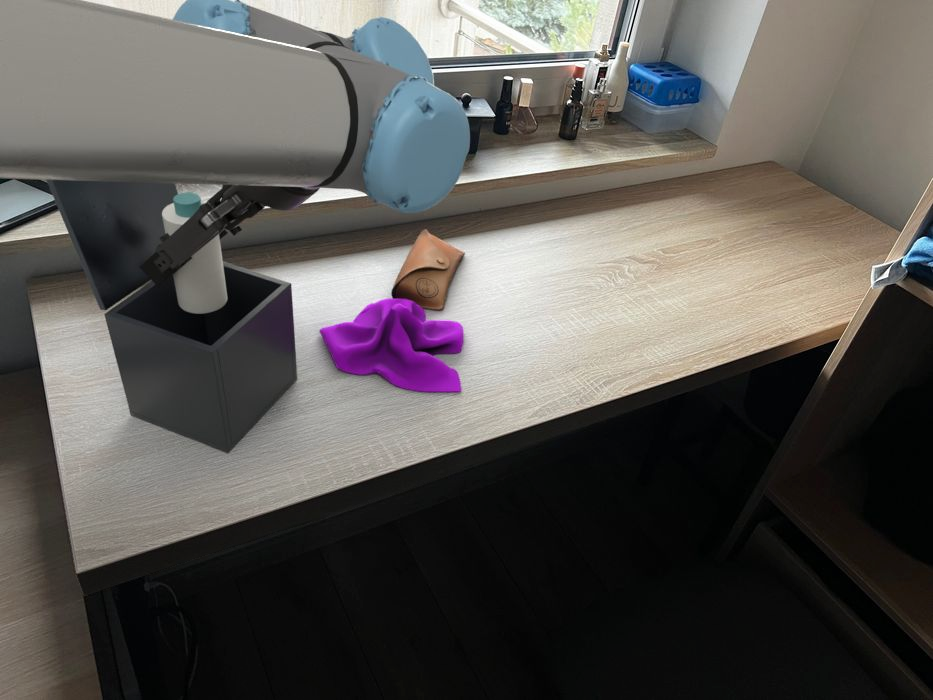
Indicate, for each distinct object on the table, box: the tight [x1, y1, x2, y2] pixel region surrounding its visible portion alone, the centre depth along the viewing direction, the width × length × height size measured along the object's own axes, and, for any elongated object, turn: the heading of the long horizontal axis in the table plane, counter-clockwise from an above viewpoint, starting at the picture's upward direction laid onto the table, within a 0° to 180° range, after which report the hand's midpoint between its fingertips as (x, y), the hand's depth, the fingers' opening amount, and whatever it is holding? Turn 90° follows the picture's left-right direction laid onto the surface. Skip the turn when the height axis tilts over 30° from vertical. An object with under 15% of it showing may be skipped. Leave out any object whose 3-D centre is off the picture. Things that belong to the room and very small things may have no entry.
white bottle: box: [162, 192, 227, 314], centre depth 76 cm, size 5×5×12 cm
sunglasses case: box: [391, 229, 466, 311], centre depth 114 cm, size 18×7×7 cm
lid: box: [46, 180, 179, 311], centre depth 77 cm, size 14×15×1 cm
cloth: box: [319, 298, 464, 393], centre depth 99 cm, size 22×19×6 cm
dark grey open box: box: [103, 261, 298, 454], centre depth 85 cm, size 14×15×15 cm
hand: (170, 262), depth 79 cm, fingers closed on white bottle, 5 cm apart
